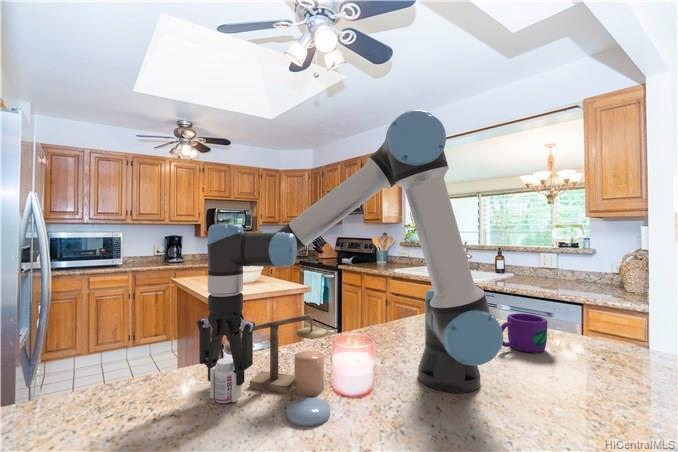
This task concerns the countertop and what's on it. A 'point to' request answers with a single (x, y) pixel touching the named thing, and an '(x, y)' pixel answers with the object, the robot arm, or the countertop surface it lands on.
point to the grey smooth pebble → (308, 412)
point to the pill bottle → (224, 380)
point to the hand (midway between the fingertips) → (226, 397)
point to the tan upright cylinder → (309, 373)
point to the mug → (526, 332)
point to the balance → (273, 378)
